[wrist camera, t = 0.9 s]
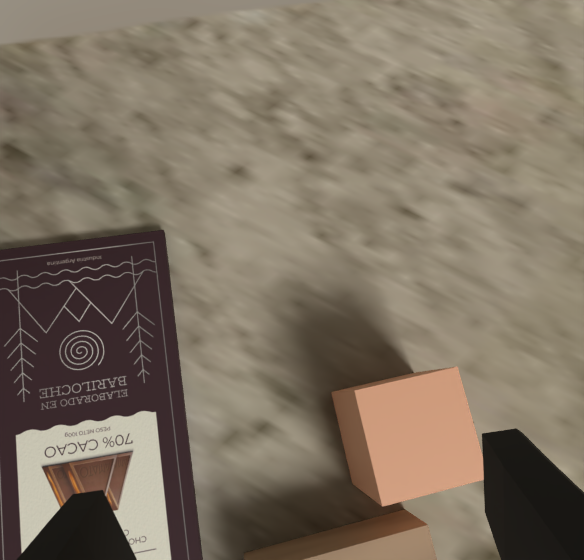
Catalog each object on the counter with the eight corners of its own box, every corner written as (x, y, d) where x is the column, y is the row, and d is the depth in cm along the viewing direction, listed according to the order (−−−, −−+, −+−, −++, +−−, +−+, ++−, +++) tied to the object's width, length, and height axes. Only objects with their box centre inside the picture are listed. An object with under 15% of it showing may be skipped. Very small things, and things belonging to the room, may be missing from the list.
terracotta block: (437, 461, 26) (489, 478, 20) (352, 483, 25) (382, 506, 20) (413, 372, 27) (457, 366, 21) (330, 392, 26) (354, 390, 21)
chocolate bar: (163, 230, 26) (207, 613, 23) (165, 235, 27) (208, 604, 24) (-22, 252, 25) (-7, 660, 22) (-13, 257, 26) (3, 649, 23)
